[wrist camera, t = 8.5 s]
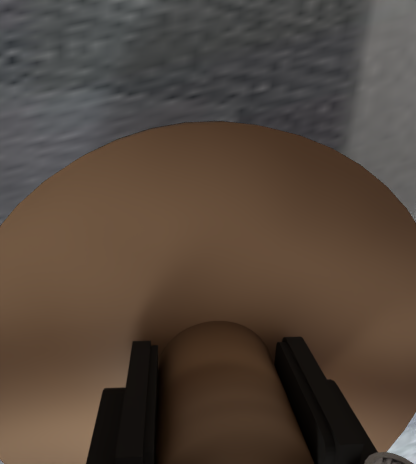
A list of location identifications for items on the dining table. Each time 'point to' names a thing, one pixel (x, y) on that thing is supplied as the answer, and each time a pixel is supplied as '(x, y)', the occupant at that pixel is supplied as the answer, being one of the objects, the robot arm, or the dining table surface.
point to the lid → (204, 293)
